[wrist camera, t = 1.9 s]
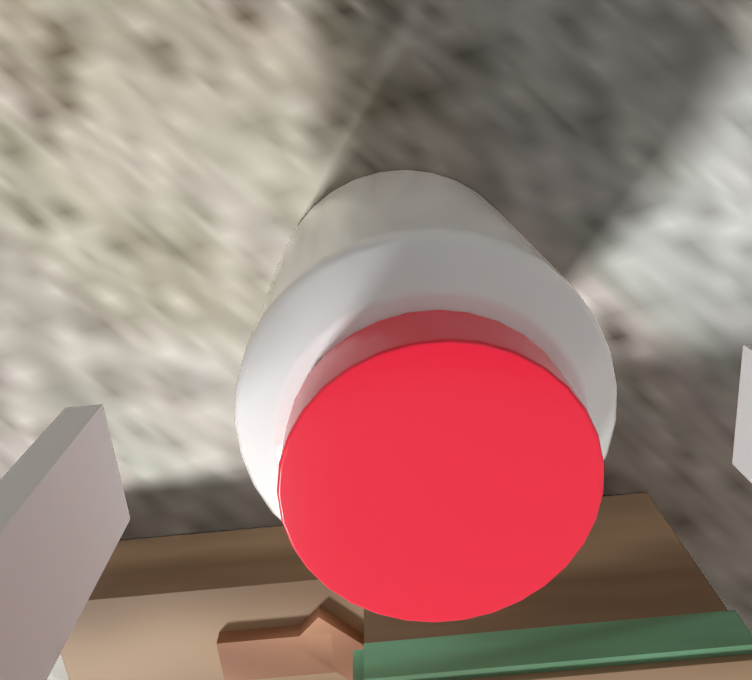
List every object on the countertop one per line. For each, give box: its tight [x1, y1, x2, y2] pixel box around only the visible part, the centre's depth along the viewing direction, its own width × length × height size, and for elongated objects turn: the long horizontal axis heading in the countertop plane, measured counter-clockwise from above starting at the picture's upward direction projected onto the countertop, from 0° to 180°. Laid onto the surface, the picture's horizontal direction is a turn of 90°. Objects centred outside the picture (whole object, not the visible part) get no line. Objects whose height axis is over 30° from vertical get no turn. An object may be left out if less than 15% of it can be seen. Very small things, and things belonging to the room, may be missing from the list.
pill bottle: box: [235, 170, 617, 622], centre depth 17 cm, size 8×8×11 cm
